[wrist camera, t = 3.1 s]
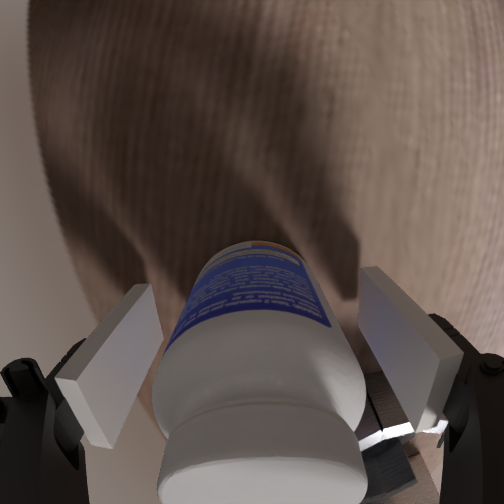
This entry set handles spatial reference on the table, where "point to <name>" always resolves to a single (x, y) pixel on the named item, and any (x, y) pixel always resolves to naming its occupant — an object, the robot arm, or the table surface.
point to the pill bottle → (259, 388)
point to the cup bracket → (392, 449)
